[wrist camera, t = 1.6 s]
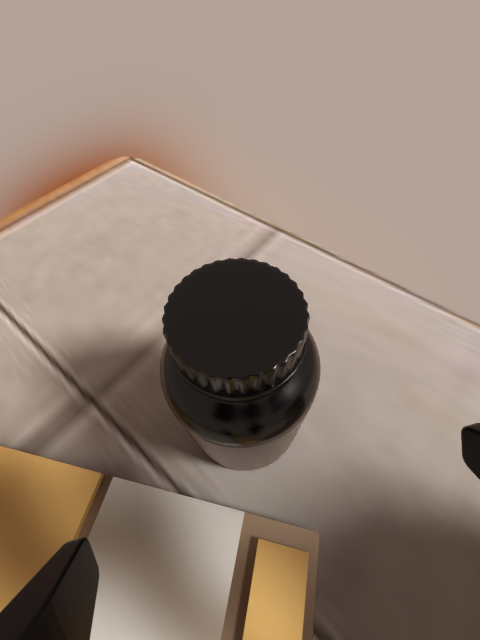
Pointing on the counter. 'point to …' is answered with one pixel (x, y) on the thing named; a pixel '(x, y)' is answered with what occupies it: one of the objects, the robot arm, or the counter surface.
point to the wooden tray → (158, 555)
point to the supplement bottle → (239, 361)
